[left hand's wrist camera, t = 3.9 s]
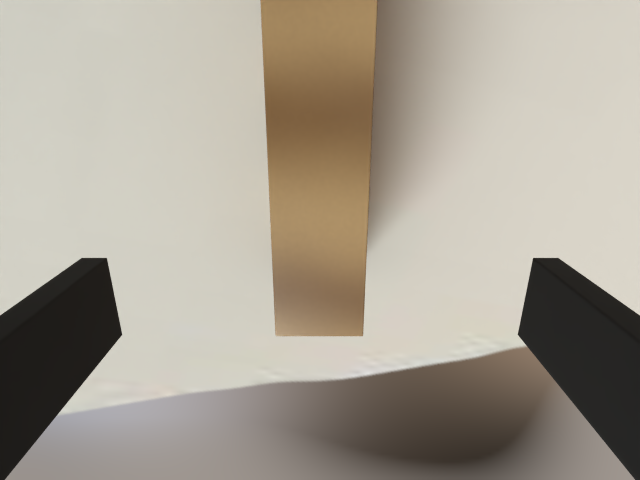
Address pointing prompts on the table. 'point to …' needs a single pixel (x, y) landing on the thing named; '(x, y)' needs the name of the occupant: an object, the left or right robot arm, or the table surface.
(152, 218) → the table surface
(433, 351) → the table surface
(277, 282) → the beam
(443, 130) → the table surface
